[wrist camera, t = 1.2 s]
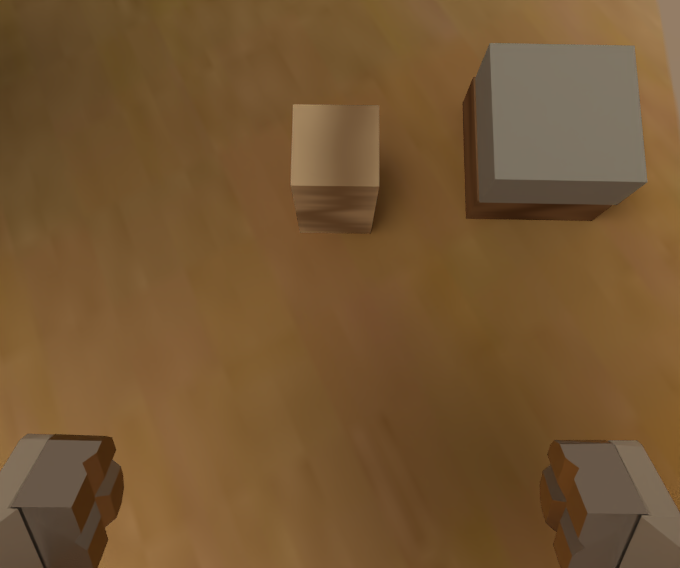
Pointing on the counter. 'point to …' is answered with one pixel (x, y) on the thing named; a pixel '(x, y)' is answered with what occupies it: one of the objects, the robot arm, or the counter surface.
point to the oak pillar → (335, 167)
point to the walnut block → (507, 209)
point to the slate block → (559, 124)
